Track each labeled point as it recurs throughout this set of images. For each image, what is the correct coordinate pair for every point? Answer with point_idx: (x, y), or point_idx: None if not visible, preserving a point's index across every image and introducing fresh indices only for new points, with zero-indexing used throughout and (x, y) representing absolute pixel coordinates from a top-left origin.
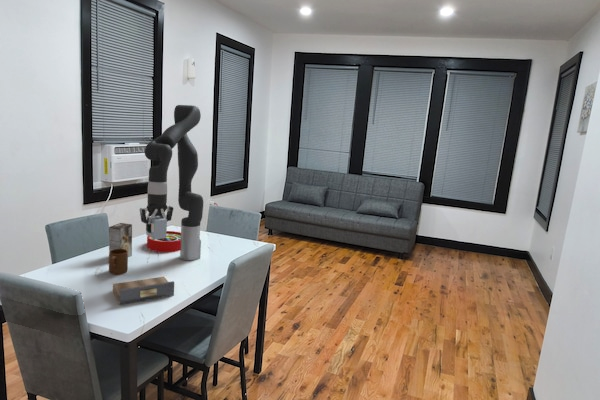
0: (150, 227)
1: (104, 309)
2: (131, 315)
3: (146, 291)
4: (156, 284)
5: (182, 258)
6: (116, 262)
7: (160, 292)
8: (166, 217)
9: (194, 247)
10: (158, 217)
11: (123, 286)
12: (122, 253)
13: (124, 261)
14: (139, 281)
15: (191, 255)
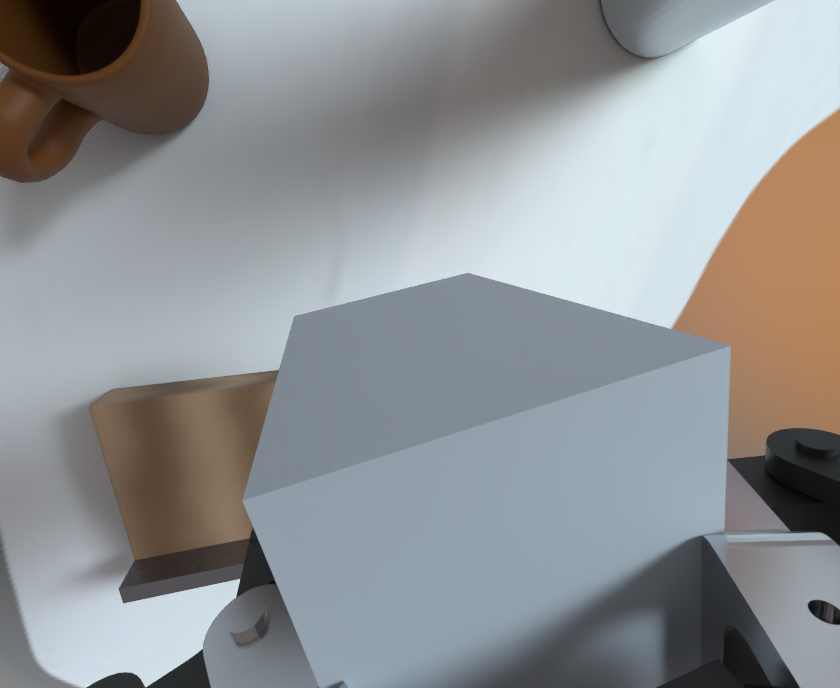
0: None
1: (80, 572)
2: (201, 631)
3: None
4: None
5: (606, 6)
6: (78, 105)
7: None
8: (816, 496)
9: (737, 15)
10: (615, 654)
11: (157, 454)
12: (94, 74)
13: (152, 104)
14: (255, 406)
15: (666, 41)
